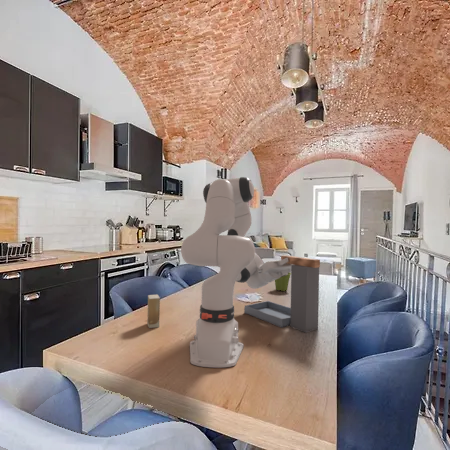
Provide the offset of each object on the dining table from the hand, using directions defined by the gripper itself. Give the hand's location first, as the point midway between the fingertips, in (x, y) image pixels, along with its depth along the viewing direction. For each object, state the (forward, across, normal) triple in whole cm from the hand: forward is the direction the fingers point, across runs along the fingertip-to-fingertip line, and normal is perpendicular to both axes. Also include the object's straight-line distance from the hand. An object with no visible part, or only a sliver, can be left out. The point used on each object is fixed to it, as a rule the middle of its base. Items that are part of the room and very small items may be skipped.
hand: (291, 259), depth 128 cm
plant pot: (-53, +44, +2) cm, 69 cm away
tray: (-22, 0, +19) cm, 30 cm away
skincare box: (-40, -51, +9) cm, 65 cm away
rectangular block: (+3, 0, +4) cm, 5 cm away
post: (-8, 0, +28) cm, 29 cm away
